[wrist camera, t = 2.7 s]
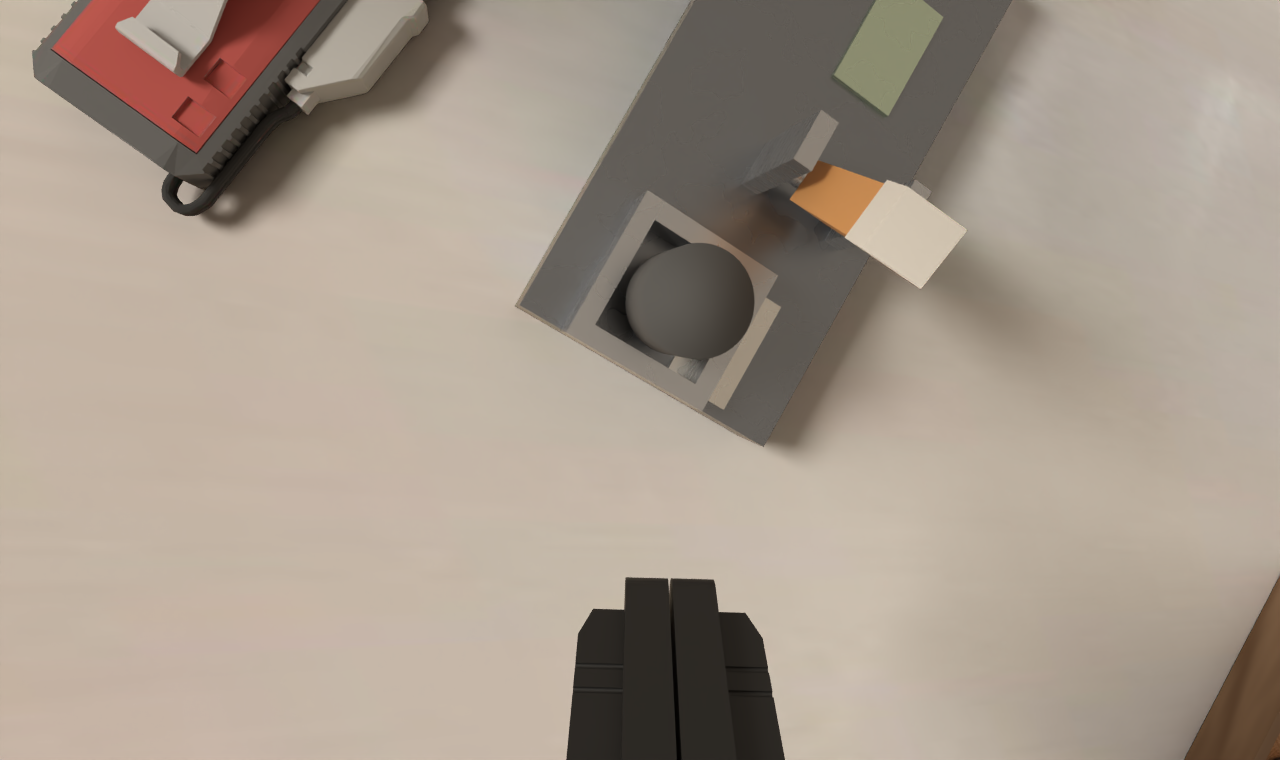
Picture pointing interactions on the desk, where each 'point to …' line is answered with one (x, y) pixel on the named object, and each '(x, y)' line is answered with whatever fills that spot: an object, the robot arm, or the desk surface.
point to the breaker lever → (881, 220)
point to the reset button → (690, 301)
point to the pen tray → (1247, 697)
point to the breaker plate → (755, 178)
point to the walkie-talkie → (216, 73)
